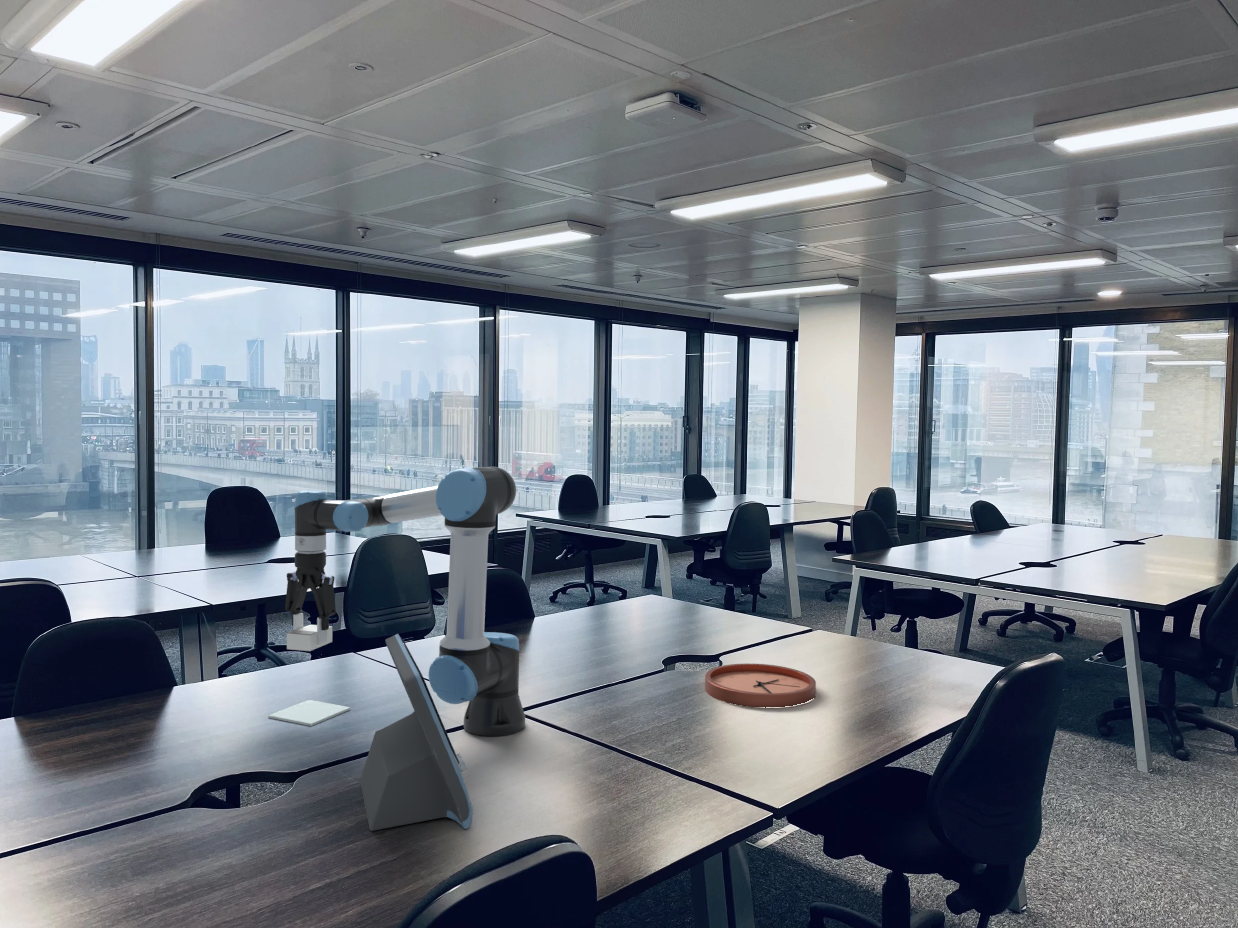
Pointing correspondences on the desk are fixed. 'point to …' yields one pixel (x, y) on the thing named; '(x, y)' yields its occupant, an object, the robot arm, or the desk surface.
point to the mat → (309, 712)
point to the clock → (759, 685)
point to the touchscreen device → (413, 761)
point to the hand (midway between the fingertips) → (310, 640)
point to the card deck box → (306, 638)
